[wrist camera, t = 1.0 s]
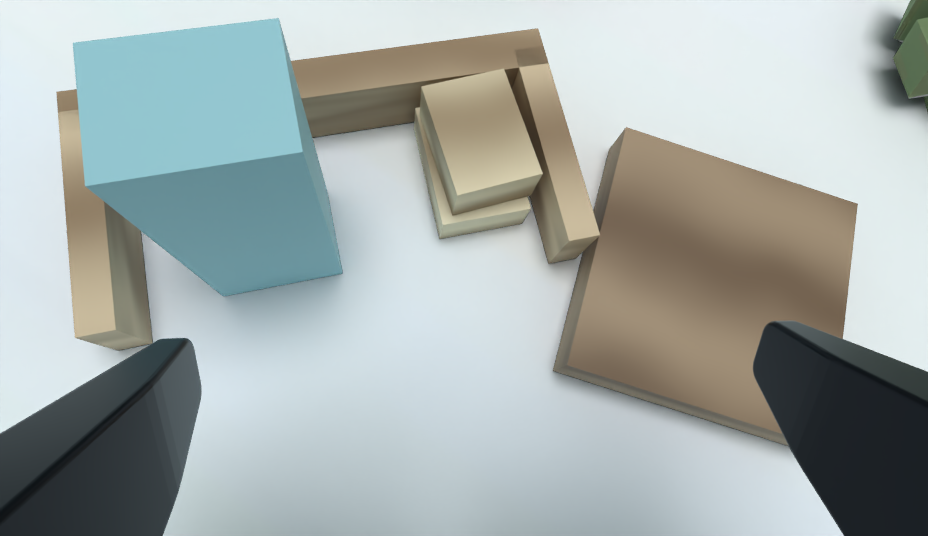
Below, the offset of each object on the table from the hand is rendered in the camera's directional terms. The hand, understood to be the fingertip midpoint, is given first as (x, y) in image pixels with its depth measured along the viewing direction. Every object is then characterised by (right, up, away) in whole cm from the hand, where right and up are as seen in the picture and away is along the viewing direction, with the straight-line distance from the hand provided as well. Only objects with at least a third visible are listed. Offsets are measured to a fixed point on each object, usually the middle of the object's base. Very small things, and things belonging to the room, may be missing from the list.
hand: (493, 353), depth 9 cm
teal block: (-8, +2, +14) cm, 16 cm away
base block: (+9, 0, +15) cm, 18 cm away
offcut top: (0, +6, +14) cm, 15 cm away
